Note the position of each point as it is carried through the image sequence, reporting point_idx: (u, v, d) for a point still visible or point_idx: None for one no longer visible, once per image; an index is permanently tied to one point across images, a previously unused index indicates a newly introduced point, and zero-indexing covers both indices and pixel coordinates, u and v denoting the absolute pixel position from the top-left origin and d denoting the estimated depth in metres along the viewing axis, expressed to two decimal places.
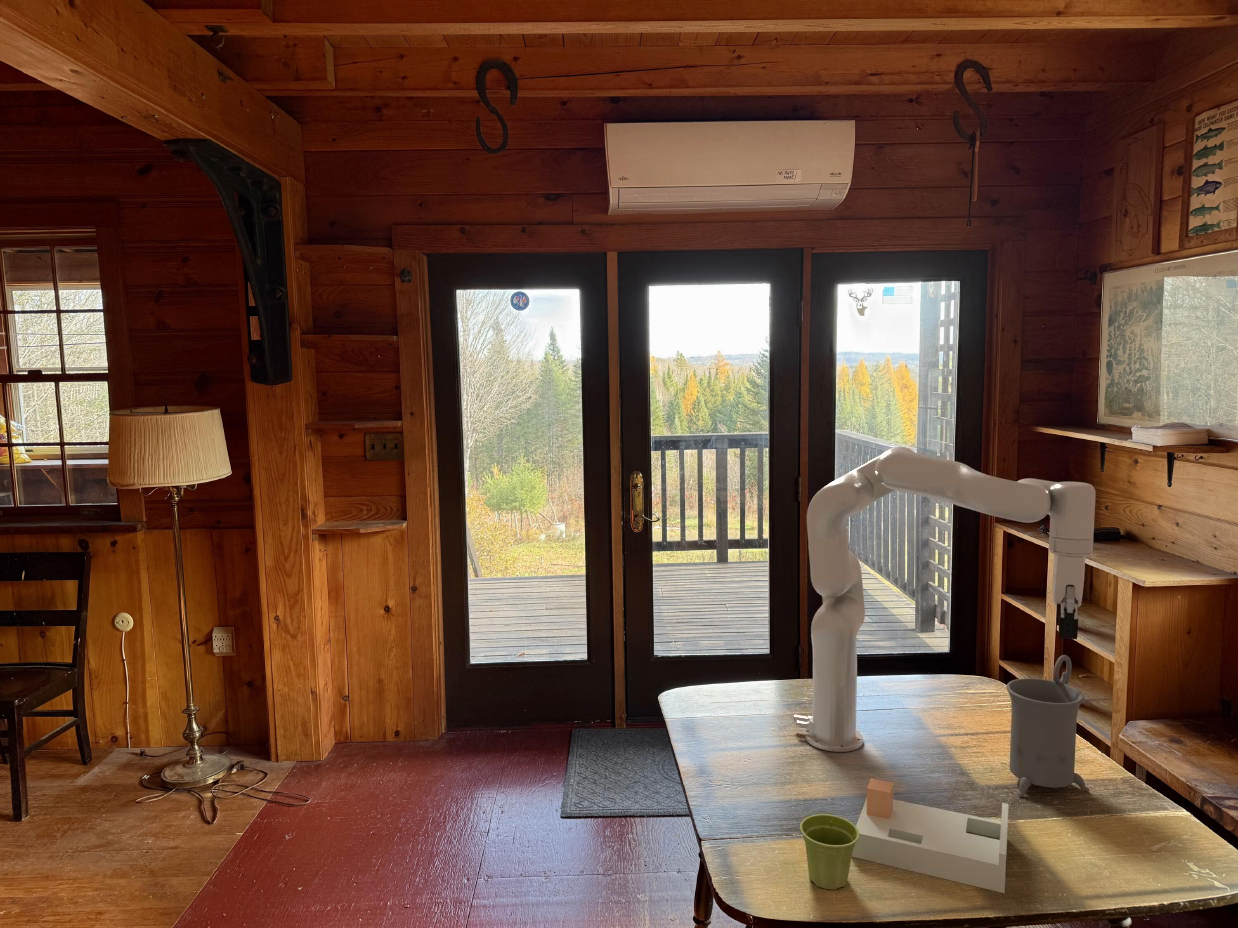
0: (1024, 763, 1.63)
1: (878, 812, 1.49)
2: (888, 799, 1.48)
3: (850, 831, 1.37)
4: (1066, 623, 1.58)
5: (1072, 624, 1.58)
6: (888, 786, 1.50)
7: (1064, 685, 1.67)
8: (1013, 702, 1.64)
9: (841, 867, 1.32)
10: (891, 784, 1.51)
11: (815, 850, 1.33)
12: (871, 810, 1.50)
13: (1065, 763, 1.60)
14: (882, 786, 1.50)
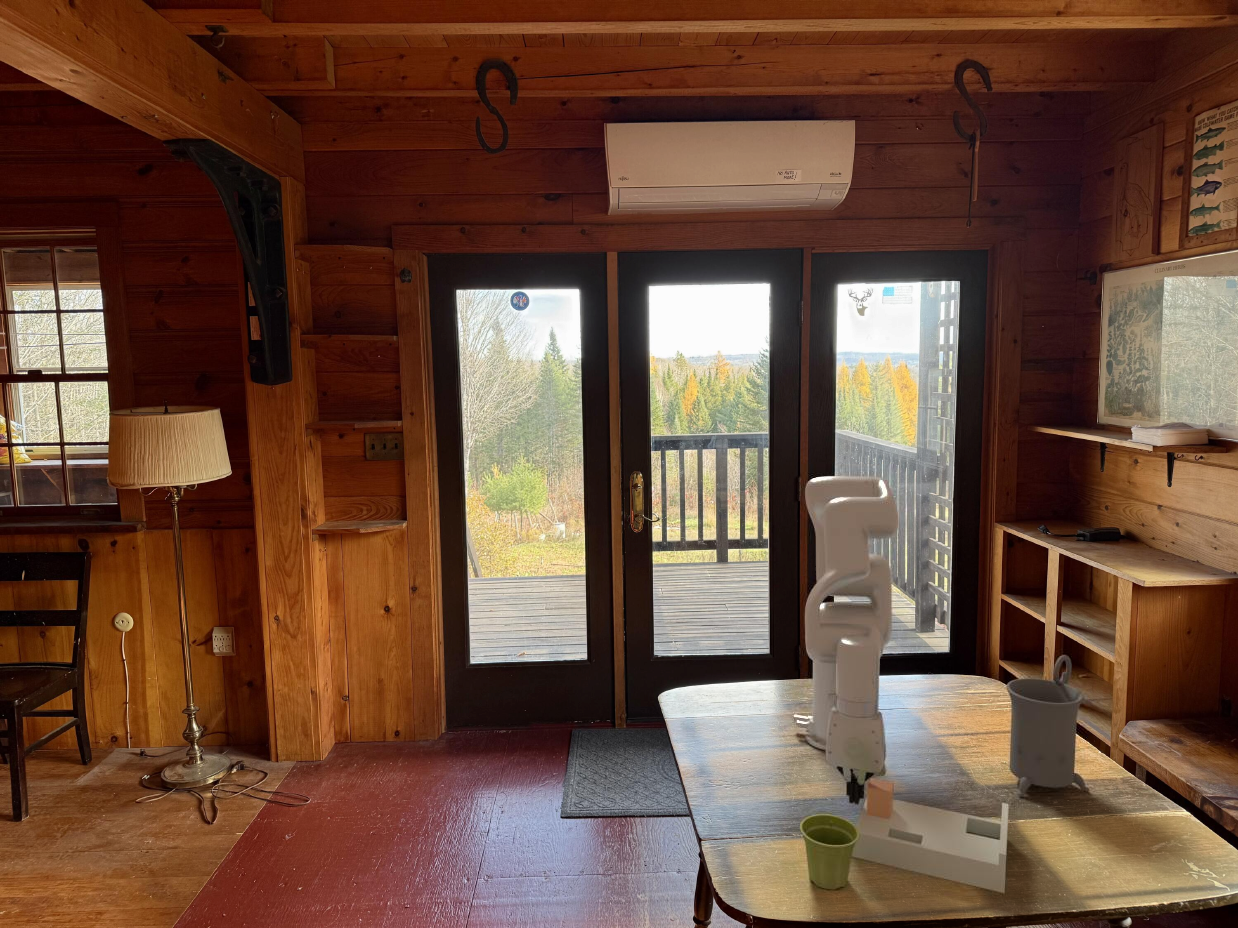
0: (1024, 763, 1.63)
1: (878, 812, 1.49)
2: (888, 799, 1.48)
3: (850, 831, 1.37)
4: (863, 786, 1.52)
5: (864, 784, 1.52)
6: (889, 786, 1.50)
7: (1064, 685, 1.67)
8: (1013, 702, 1.64)
9: (840, 867, 1.32)
10: (892, 784, 1.51)
11: (815, 850, 1.33)
12: (871, 810, 1.50)
13: (1065, 763, 1.60)
14: (882, 786, 1.50)
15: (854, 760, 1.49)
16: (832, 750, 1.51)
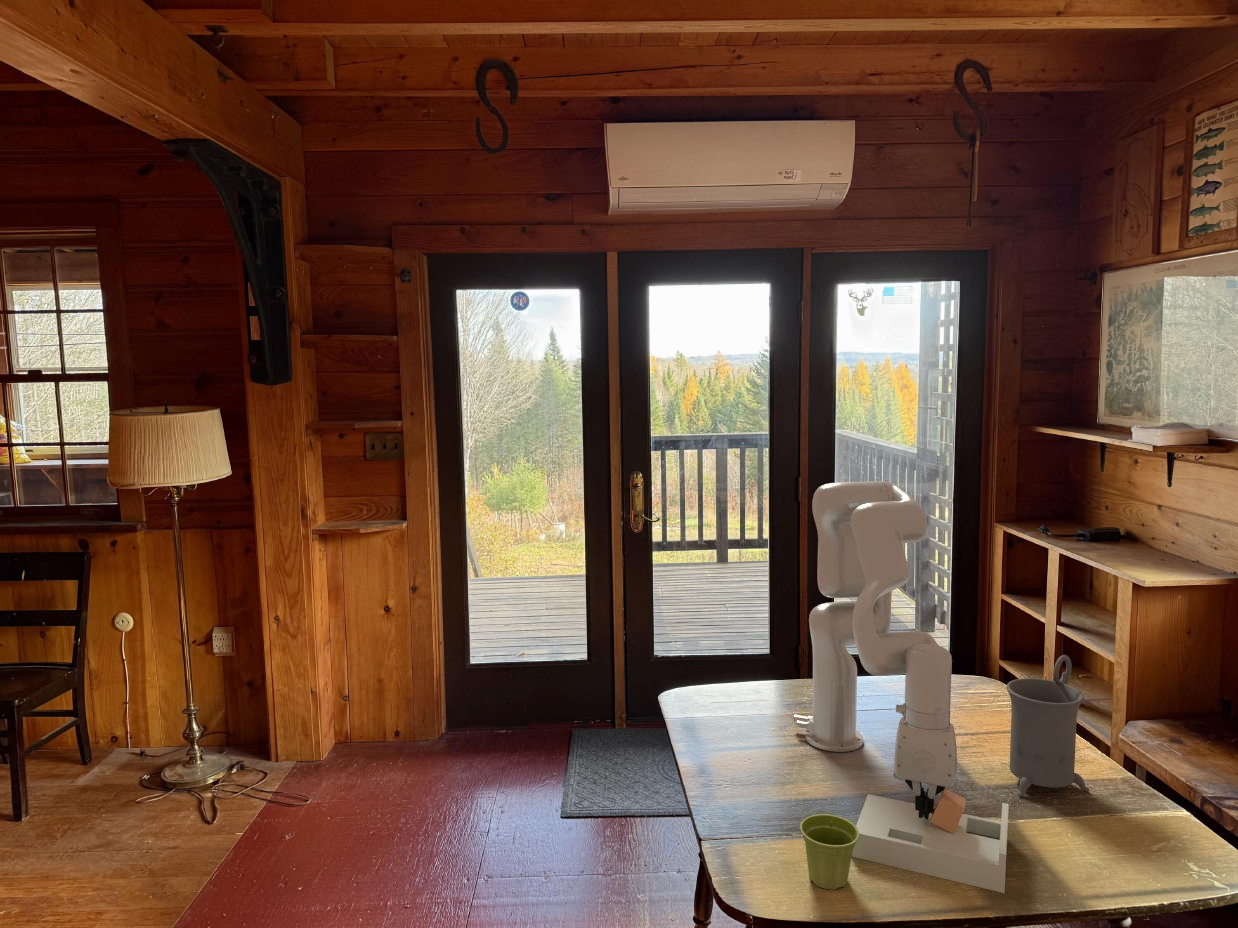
0: (1024, 763, 1.63)
1: (943, 823, 1.44)
2: (959, 815, 1.43)
3: (850, 831, 1.37)
4: None
5: None
6: (961, 802, 1.44)
7: (1064, 685, 1.67)
8: (1013, 702, 1.64)
9: (840, 867, 1.32)
10: (964, 800, 1.45)
11: (815, 850, 1.33)
12: (937, 819, 1.44)
13: (1065, 763, 1.60)
14: (955, 800, 1.44)
15: (925, 774, 1.44)
16: (901, 763, 1.46)
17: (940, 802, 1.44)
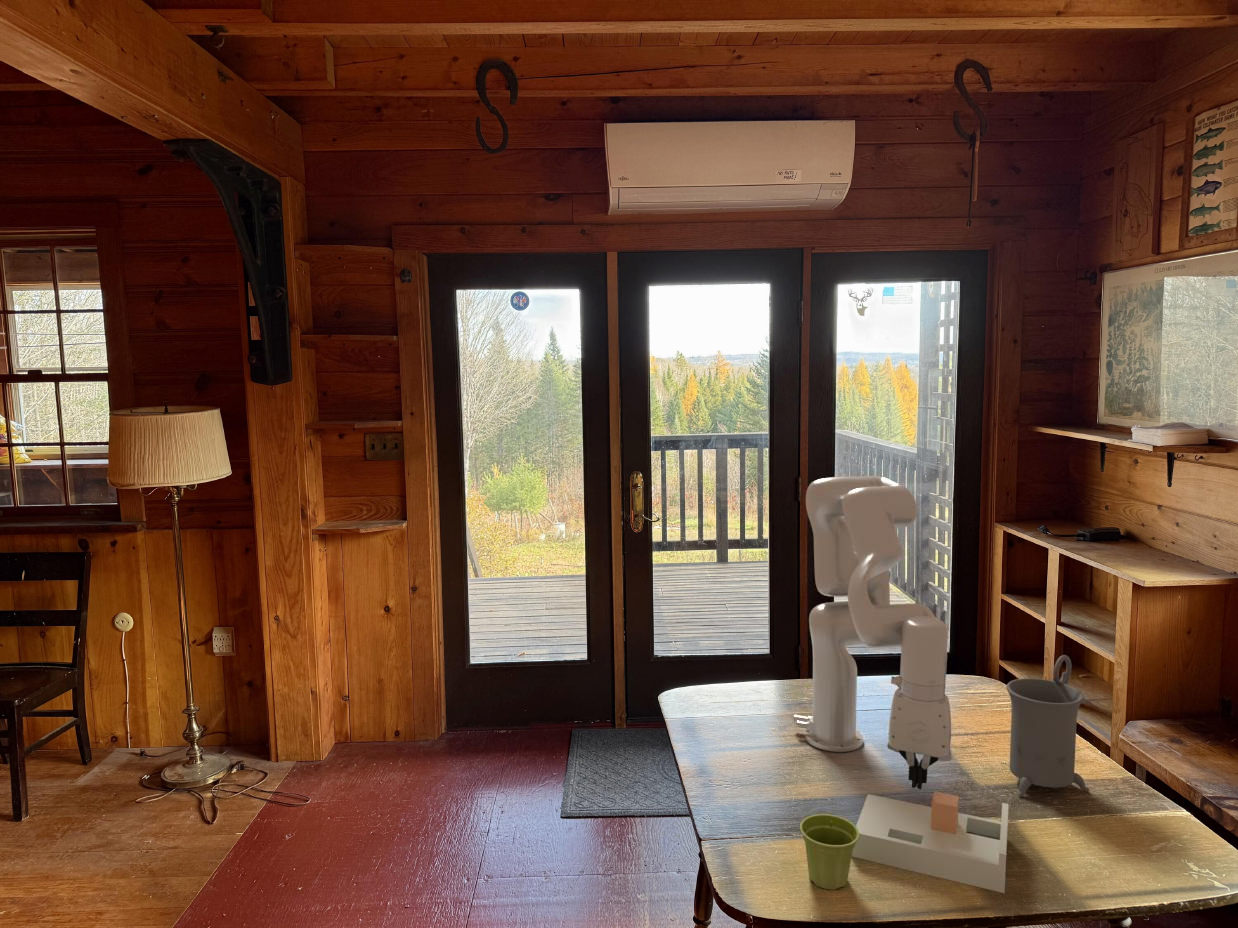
0: (1024, 763, 1.63)
1: (943, 827, 1.44)
2: (954, 813, 1.43)
3: (850, 831, 1.37)
4: None
5: None
6: (954, 799, 1.45)
7: (1064, 685, 1.67)
8: (1013, 702, 1.64)
9: (840, 867, 1.32)
10: (956, 798, 1.46)
11: (815, 850, 1.33)
12: (936, 824, 1.45)
13: (1065, 763, 1.60)
14: (947, 799, 1.45)
15: (919, 744, 1.44)
16: (896, 734, 1.46)
17: (932, 806, 1.45)
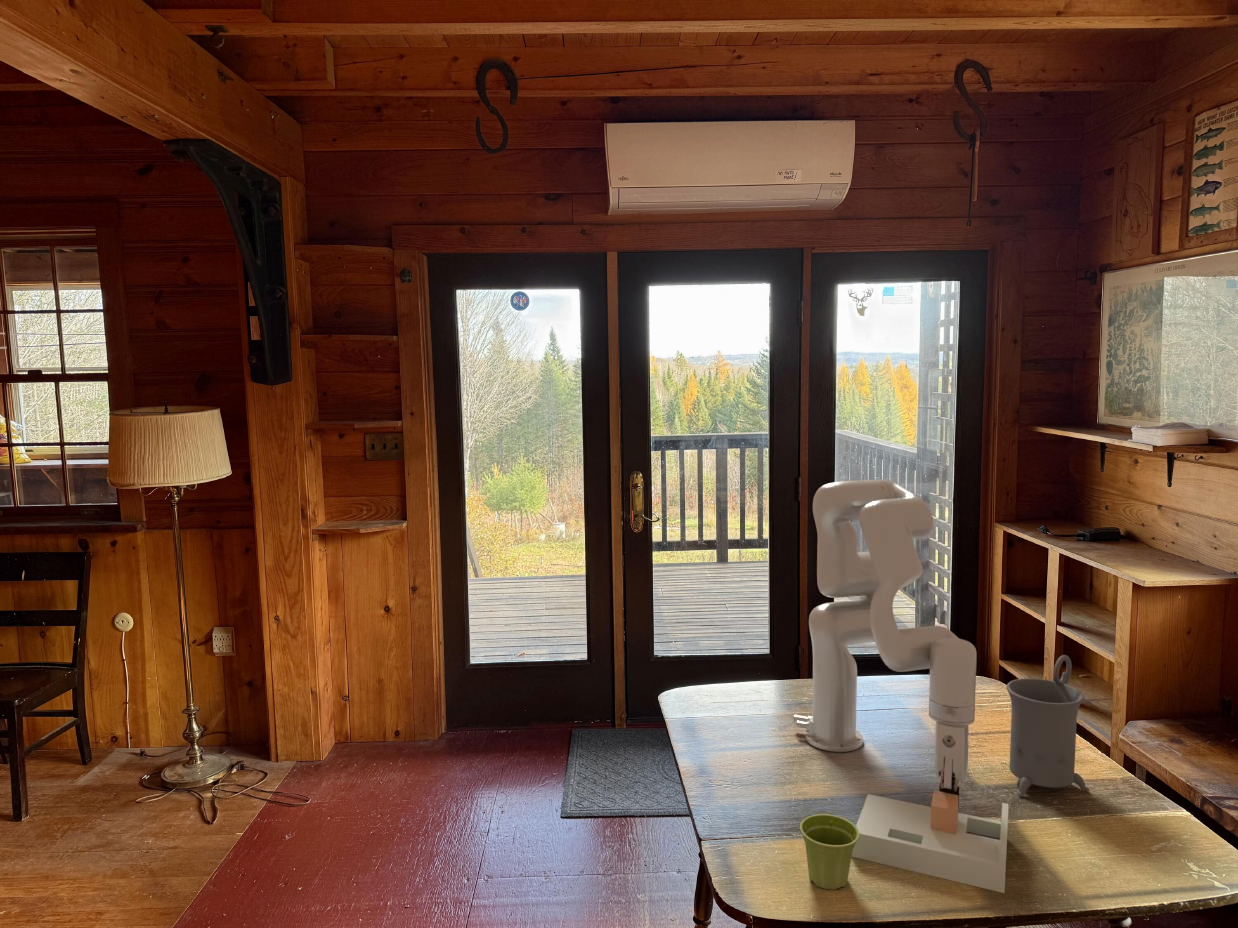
0: (1024, 763, 1.63)
1: (943, 827, 1.44)
2: (954, 816, 1.42)
3: (850, 831, 1.37)
4: None
5: None
6: (953, 801, 1.44)
7: (1064, 685, 1.67)
8: (1013, 702, 1.64)
9: (840, 867, 1.32)
10: (956, 798, 1.45)
11: (815, 850, 1.33)
12: (936, 825, 1.44)
13: (1065, 763, 1.60)
14: (946, 801, 1.44)
15: (967, 762, 1.47)
16: (965, 766, 1.43)
17: (932, 809, 1.44)
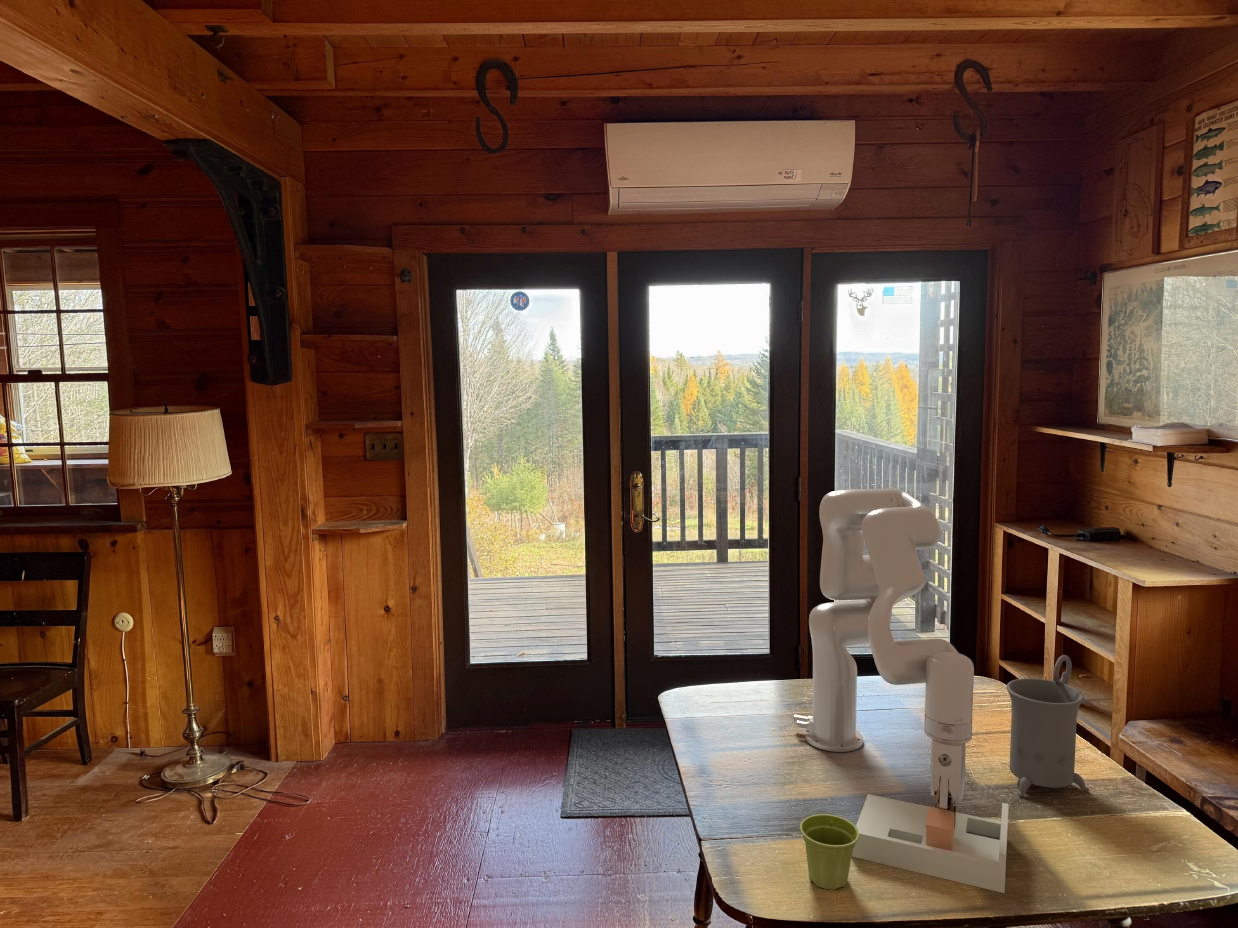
0: (1024, 763, 1.63)
1: (939, 845, 1.39)
2: (950, 835, 1.37)
3: (850, 831, 1.37)
4: None
5: None
6: (949, 818, 1.38)
7: (1064, 685, 1.67)
8: (1013, 702, 1.64)
9: (840, 867, 1.32)
10: (952, 815, 1.39)
11: (815, 850, 1.33)
12: (931, 843, 1.39)
13: (1065, 763, 1.60)
14: (942, 819, 1.38)
15: (964, 781, 1.41)
16: (962, 785, 1.38)
17: (927, 828, 1.38)
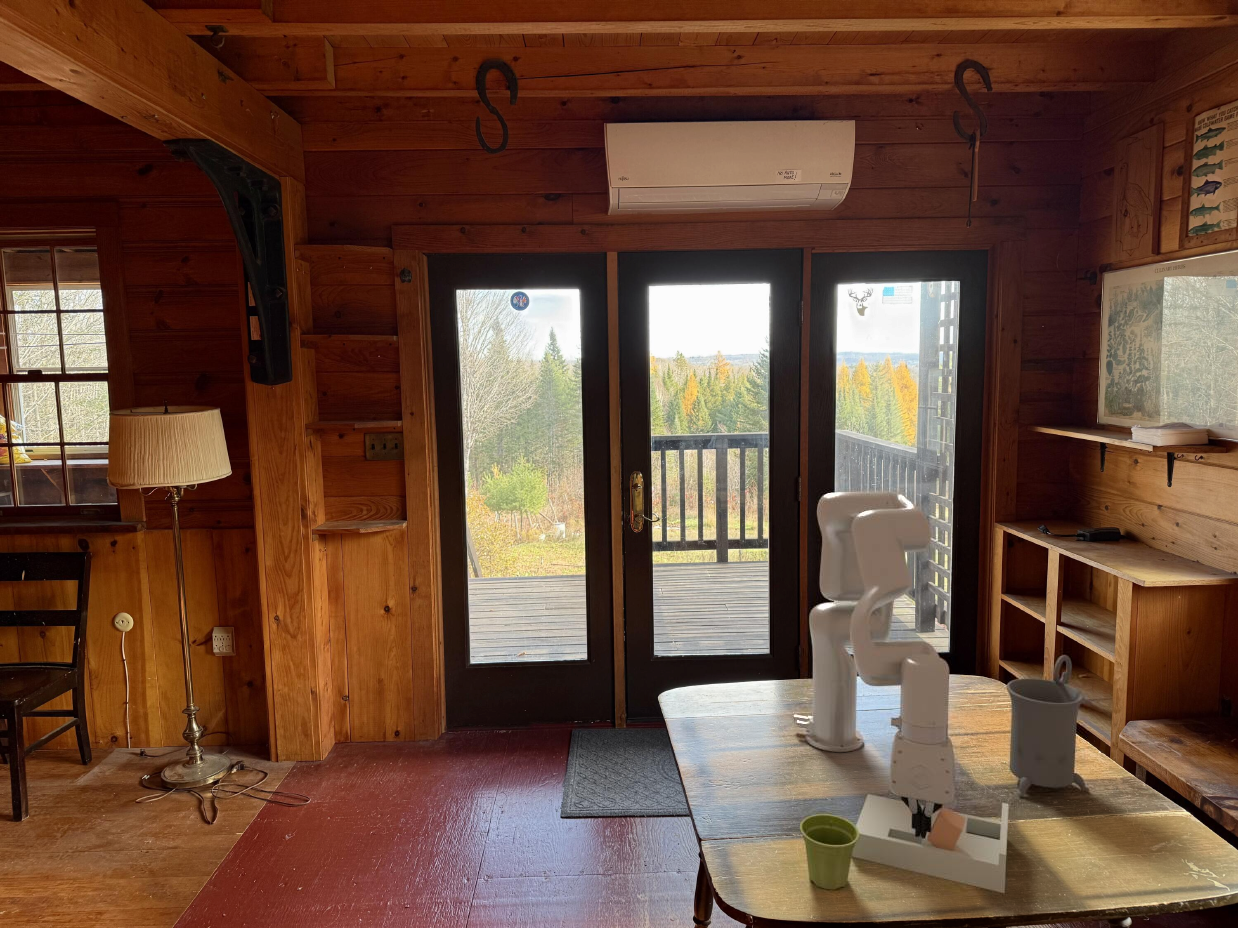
0: (1024, 763, 1.63)
1: (941, 843, 1.38)
2: (957, 835, 1.37)
3: (850, 831, 1.37)
4: None
5: None
6: (960, 821, 1.38)
7: (1064, 685, 1.67)
8: (1013, 702, 1.64)
9: (840, 867, 1.32)
10: (963, 820, 1.39)
11: (815, 850, 1.33)
12: (934, 838, 1.39)
13: (1065, 763, 1.60)
14: (954, 819, 1.38)
15: (921, 790, 1.37)
16: (897, 779, 1.39)
17: (937, 821, 1.38)
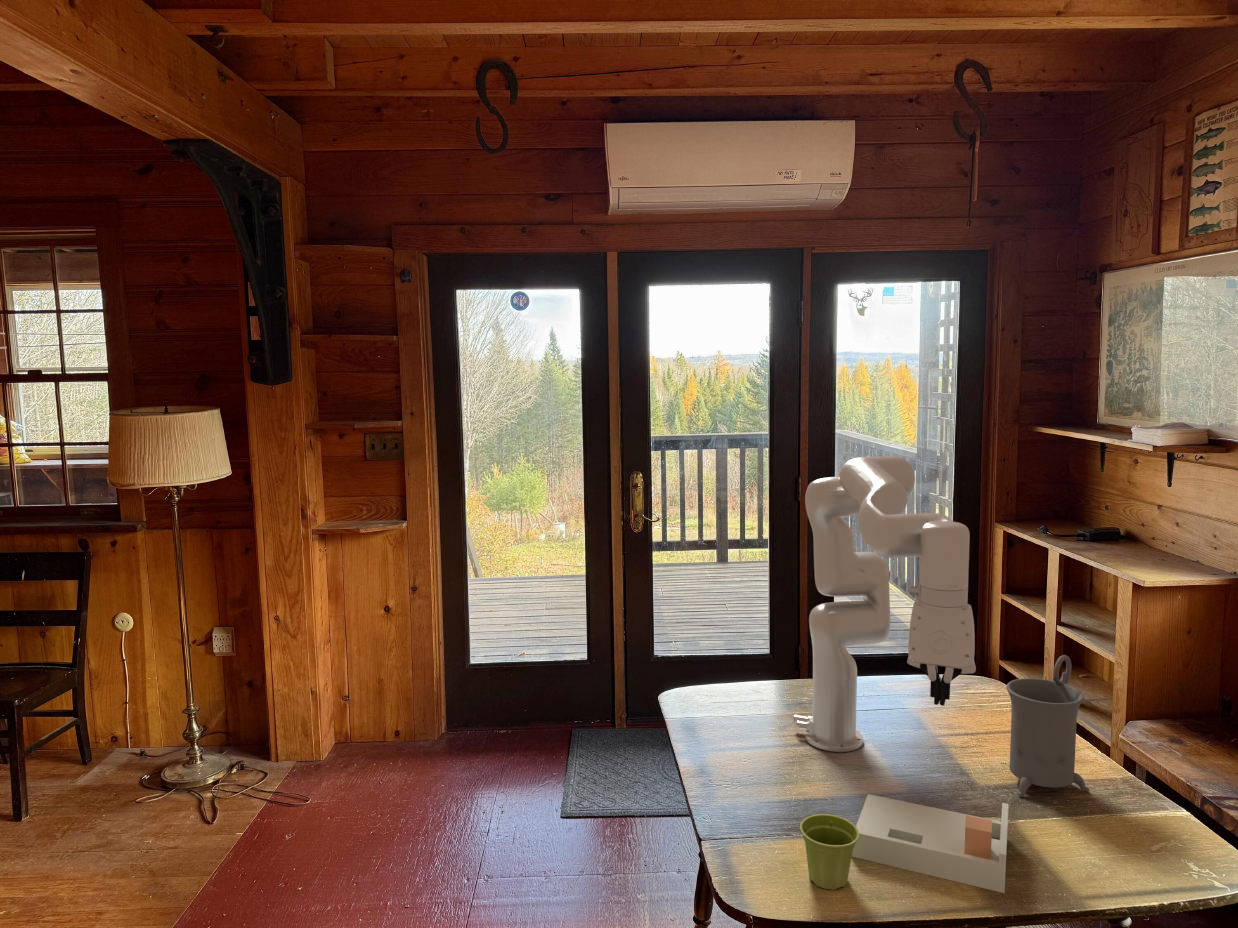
0: (1024, 763, 1.63)
1: (978, 854, 1.36)
2: (989, 839, 1.35)
3: (850, 831, 1.37)
4: None
5: None
6: (987, 824, 1.37)
7: (1064, 685, 1.67)
8: (1013, 702, 1.64)
9: (841, 867, 1.32)
10: (990, 822, 1.38)
11: (815, 850, 1.33)
12: (969, 851, 1.37)
13: (1065, 763, 1.60)
14: (980, 824, 1.37)
15: (941, 656, 1.36)
16: (916, 646, 1.38)
17: (966, 832, 1.36)
